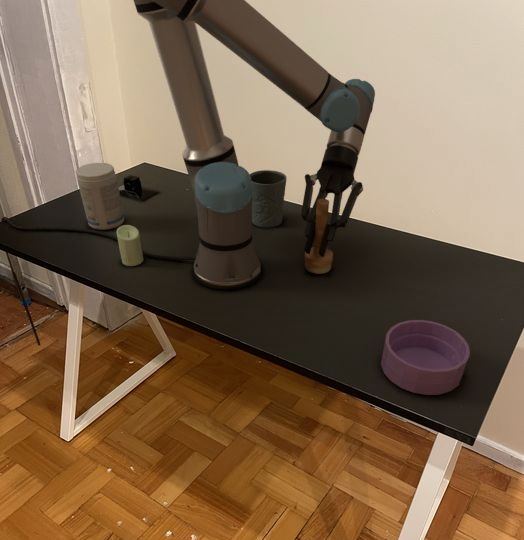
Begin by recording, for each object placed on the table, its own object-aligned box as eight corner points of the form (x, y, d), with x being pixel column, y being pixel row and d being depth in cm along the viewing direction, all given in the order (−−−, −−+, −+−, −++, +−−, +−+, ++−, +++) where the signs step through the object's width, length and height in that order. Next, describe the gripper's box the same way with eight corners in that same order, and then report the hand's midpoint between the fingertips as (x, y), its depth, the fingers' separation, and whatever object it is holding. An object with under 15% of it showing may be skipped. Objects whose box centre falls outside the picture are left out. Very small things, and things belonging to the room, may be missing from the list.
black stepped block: (110, 192, 155) (107, 177, 152) (126, 184, 160) (124, 169, 157) (142, 201, 150) (139, 185, 147) (158, 192, 155) (156, 177, 152)
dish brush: (299, 269, 120) (302, 203, 109) (312, 257, 124) (316, 192, 114) (323, 277, 117) (329, 210, 107) (336, 264, 121) (343, 199, 111)
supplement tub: (124, 214, 144) (115, 160, 134) (125, 229, 137) (115, 174, 127) (88, 217, 142) (76, 163, 133) (87, 233, 135) (74, 177, 126)
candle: (147, 262, 123) (142, 230, 118) (127, 268, 121) (121, 236, 116) (138, 253, 127) (132, 222, 121) (118, 259, 124) (112, 228, 119)
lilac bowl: (368, 377, 93) (372, 351, 89) (397, 336, 102) (402, 311, 98) (446, 408, 87) (455, 382, 83) (470, 362, 96) (479, 336, 92)
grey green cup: (252, 230, 136) (252, 185, 129) (244, 214, 144) (243, 171, 136) (289, 226, 138) (291, 182, 131) (279, 210, 146) (280, 168, 138)
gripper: (378, 165, 116) (350, 265, 115) (311, 155, 121) (284, 251, 120) (376, 148, 109) (346, 254, 108) (305, 139, 114) (276, 241, 113)
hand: (314, 253), depth 114 cm, fingers closed on dish brush, 3 cm apart
